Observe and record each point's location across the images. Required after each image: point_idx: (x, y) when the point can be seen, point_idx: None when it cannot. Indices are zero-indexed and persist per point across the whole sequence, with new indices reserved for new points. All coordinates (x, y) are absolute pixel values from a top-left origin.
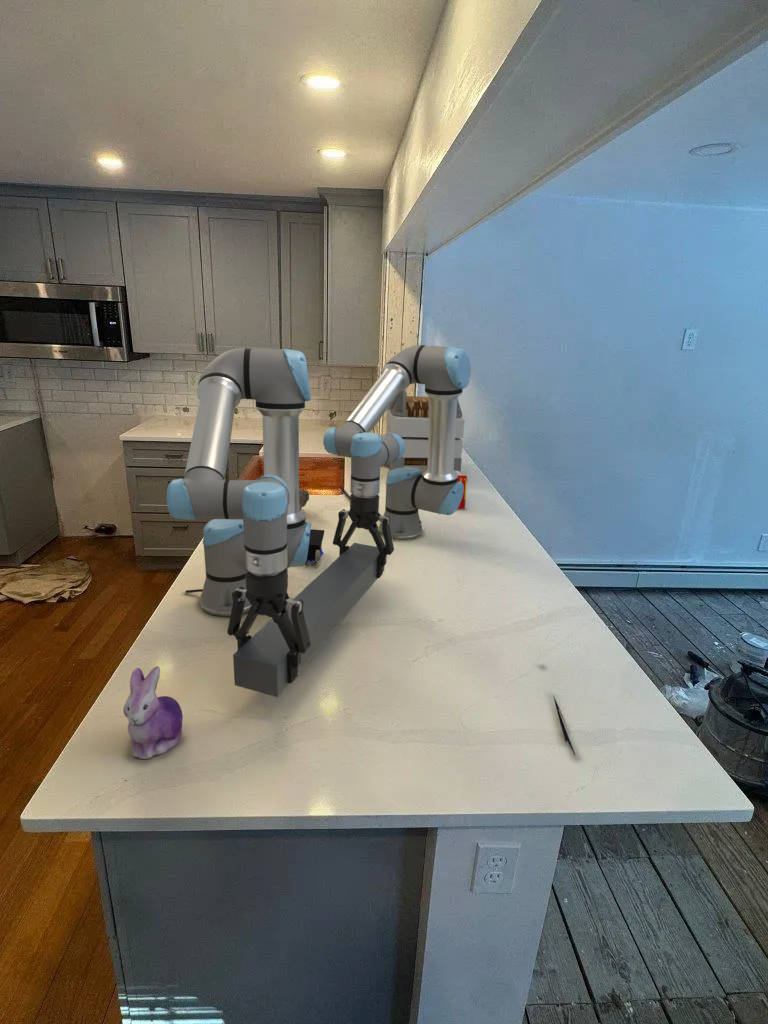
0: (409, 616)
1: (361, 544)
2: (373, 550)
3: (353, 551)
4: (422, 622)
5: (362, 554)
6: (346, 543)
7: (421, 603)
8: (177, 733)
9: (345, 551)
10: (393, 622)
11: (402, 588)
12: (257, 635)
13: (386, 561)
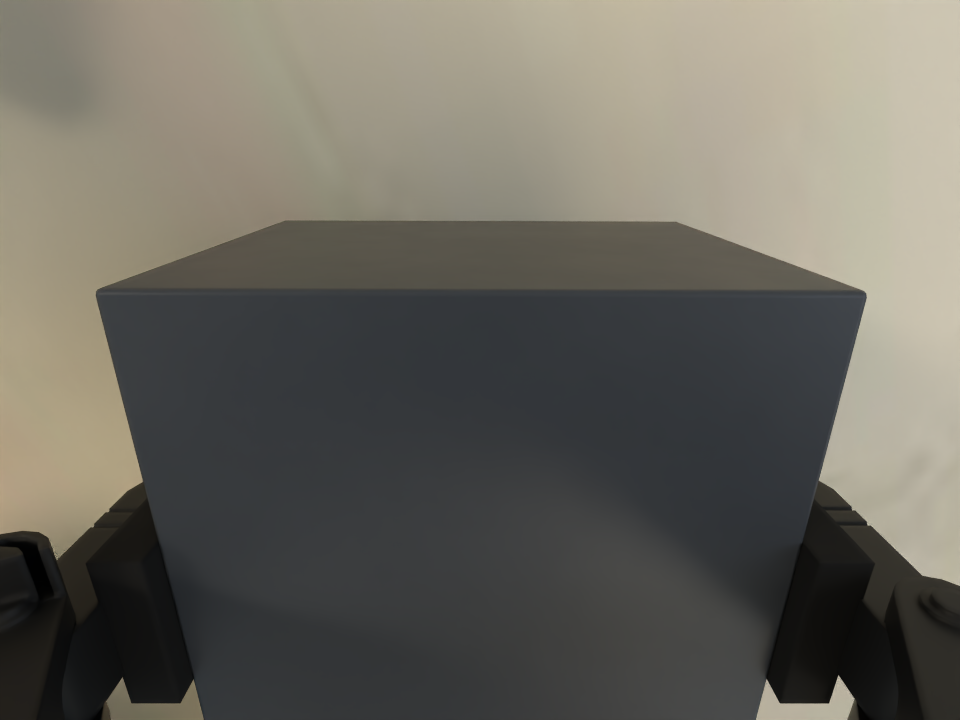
0: (853, 453)
1: (291, 318)
2: (639, 490)
3: (321, 647)
4: (938, 485)
5: (507, 685)
6: (68, 653)
7: (935, 261)
8: None
9: (209, 693)
10: None
11: (762, 66)
12: None
13: (848, 507)
